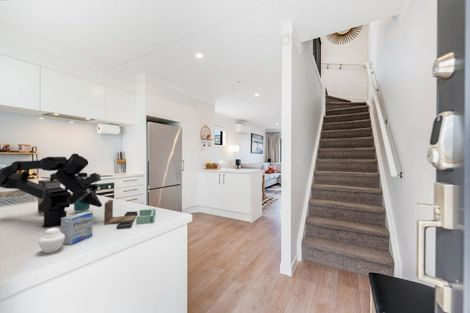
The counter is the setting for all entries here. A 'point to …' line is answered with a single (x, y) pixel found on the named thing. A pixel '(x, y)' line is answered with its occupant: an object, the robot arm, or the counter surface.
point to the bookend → (114, 220)
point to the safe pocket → (146, 216)
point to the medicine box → (77, 227)
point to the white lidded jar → (51, 240)
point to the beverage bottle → (78, 205)
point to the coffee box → (49, 185)
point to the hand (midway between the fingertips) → (101, 206)
